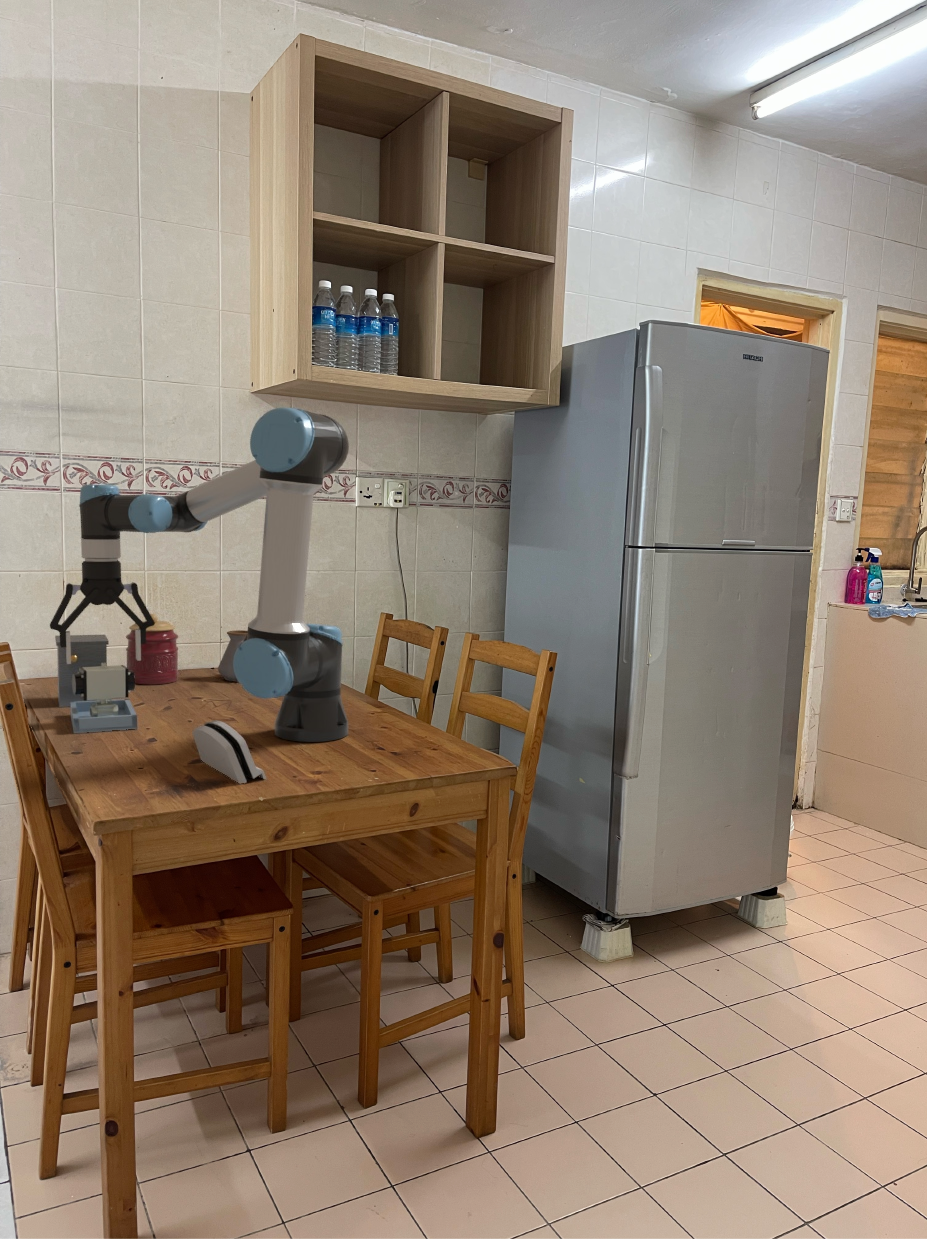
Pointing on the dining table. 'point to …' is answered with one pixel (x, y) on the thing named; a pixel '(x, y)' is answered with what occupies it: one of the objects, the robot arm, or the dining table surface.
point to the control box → (78, 662)
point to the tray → (106, 723)
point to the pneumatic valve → (103, 687)
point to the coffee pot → (231, 654)
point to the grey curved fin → (225, 751)
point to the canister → (154, 654)
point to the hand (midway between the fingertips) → (104, 661)
